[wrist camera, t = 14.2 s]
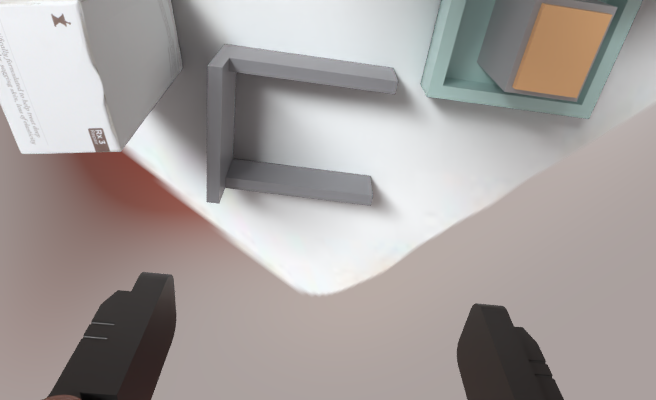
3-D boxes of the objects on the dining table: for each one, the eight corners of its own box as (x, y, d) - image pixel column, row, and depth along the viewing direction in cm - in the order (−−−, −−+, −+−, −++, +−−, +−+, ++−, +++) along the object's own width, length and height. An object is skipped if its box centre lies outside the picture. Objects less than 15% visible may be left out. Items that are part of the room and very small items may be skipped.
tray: (458, -69, 33) (468, -67, 31) (634, -40, 34) (659, -36, 32) (420, 84, 39) (426, 96, 36) (572, 105, 40) (588, 119, 37)
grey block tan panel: (502, -21, 34) (541, -5, 28) (568, -10, 35) (622, 8, 28) (476, 62, 37) (506, 94, 31) (537, 71, 38) (579, 104, 31)
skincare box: (87, -39, 34) (-56, -7, 22) (170, -40, 34) (75, -9, 22) (115, 75, 39) (10, 157, 26) (189, 75, 39) (120, 156, 26)
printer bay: (224, 43, 37) (207, 65, 32) (393, 67, 38) (402, 92, 33) (221, 166, 43) (206, 202, 38) (368, 185, 44) (373, 221, 39)
